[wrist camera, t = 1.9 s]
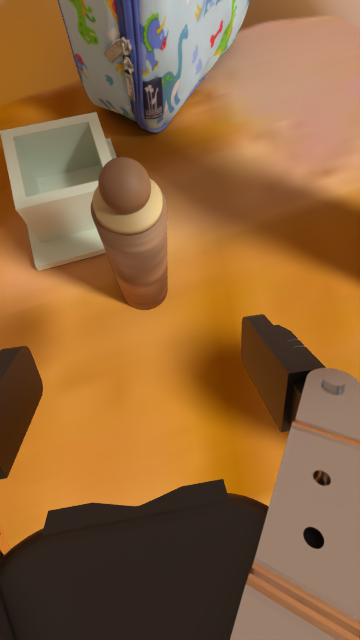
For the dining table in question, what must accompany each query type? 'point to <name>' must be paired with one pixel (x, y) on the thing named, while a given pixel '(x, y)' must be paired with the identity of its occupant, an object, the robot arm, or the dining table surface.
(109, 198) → the pepper mill
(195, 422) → the dining table surface
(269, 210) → the dining table surface
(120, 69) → the lunch box
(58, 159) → the caddy
